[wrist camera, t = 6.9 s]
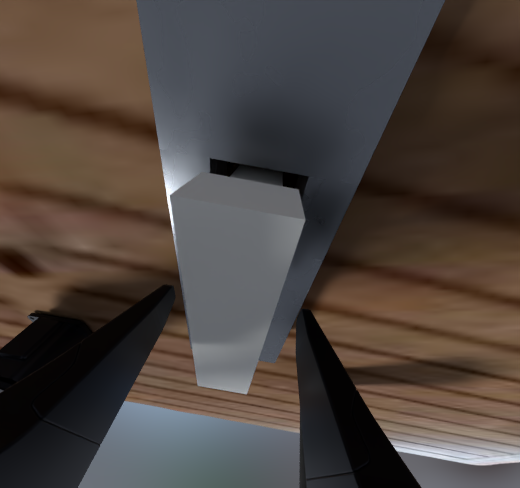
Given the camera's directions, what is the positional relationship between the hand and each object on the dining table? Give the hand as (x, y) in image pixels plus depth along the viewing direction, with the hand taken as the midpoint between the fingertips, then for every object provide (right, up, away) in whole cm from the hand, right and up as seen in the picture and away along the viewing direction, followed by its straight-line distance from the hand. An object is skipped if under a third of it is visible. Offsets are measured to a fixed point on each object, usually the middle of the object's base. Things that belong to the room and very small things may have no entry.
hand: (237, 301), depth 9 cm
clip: (0, +3, +4) cm, 5 cm away
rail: (+1, +3, +4) cm, 5 cm away
